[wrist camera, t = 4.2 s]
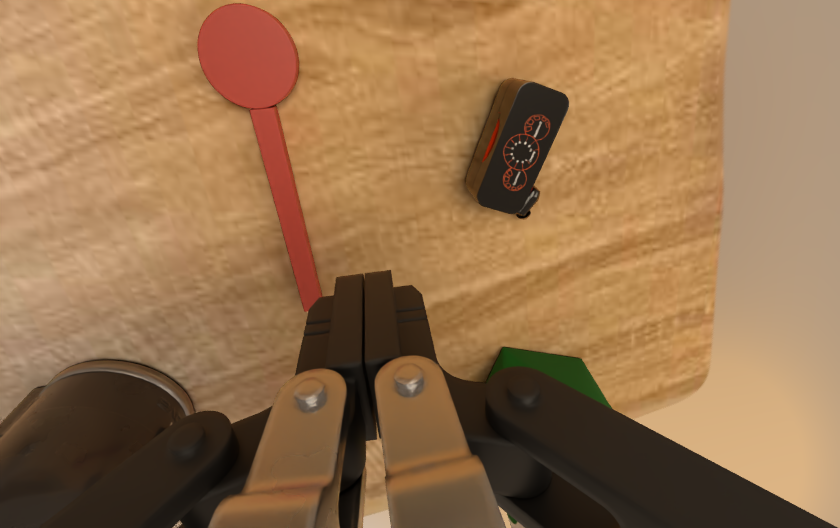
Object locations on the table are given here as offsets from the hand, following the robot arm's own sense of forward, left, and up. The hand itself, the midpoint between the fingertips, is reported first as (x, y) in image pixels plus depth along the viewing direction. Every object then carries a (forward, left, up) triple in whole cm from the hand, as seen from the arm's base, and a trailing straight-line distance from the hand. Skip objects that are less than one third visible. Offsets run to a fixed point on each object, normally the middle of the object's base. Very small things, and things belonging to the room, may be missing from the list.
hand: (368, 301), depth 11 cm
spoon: (-5, +1, -13) cm, 14 cm away
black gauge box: (+8, 0, -14) cm, 16 cm away
